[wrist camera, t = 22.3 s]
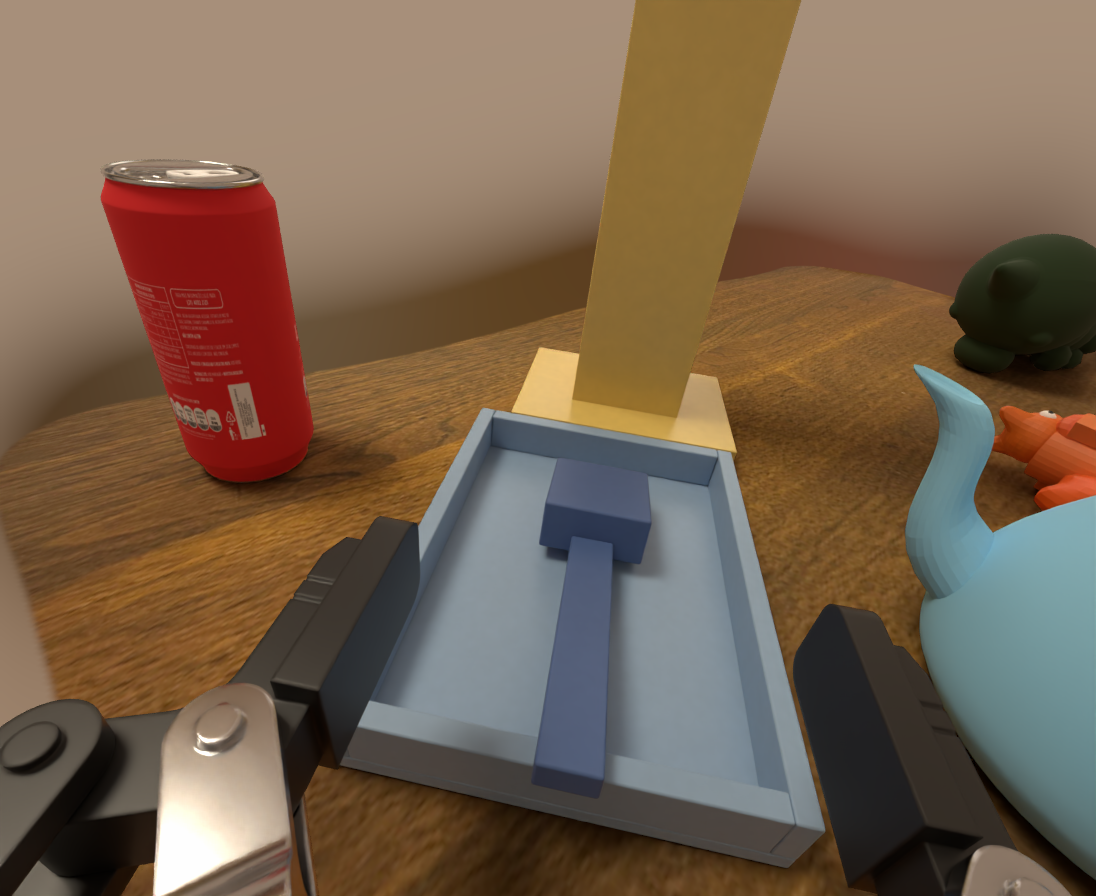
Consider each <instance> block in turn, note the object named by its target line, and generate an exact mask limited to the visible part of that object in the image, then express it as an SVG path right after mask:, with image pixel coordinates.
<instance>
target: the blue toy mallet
mask: <svg viewBox="0 0 1096 896" xmlns="http://www.w3.org/2000/svg"><path fill="white" fill-rule="evenodd" d="M651 525H652V519H651V507H650V496H649V484H648V474H647V473H642V472H637V471H632V470H626V469H621V468H615V467H610V466H604V465H599V464H594V463H588V462H583V461H577V460H572V459H566V458H561V457H558V459H557V462H556V465H555V469H554V473H553V476H552V480H551V484H550V487H549V491H548V494H547V498H546V502H545V507H544V513H543V520H542V526H541V533H540V539H539V544H540V545H542V546H547V547H552V548H557V549H562V550H567V551H569V554H568V560H567V566H566V572H565V578H564V584H563V590H562V596H561V602H560V608H559V614H558V620H557V626H556V632H555V638H554V644H553V650H552V656H551V662H550V668H549V674H548V680H547V686H546V692H545V698H544V704H543V710H542V716H541V722H540V728H539V734H538V740H537V746H536V752H535V758H534V764H533V770H532V776H531V783H532V784H533V785H536V786H541V787H545V788H549V789H554V790H558V791H563V792H567V793H571V794H576V795H580V796H585V797H589V798H593V799H598V798H599V796H600V793H601V790H602V787H603V783H604V780H605V763H606V735H607V708H608V680H609V652H610V625H611V597H612V570H613V560H618V561H623V562H628V563H634V564H641V562H642V558H643V555H644V551H645V547H646V543H647V540H648V536H649V532H650V528H651Z"/></svg>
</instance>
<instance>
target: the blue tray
mask: <svg viewBox="0 0 1096 896" xmlns="http://www.w3.org/2000/svg"><path fill="white" fill-rule="evenodd" d="M558 457H561V458H566V459H572V460H577V461H583V462H588V463H594V464H599V465H604V466H610V467H615V468H621V469H626V470H632V471H637V472H642V473H647V474H648V484H649V496H650V507H651V519H652V525H651V528H650V532H649V536H648V540H647V543H646V547H645V551H644V555H643V558H642V562H641V564H634V563H628V562H623V561H618V560H613V570H612V597H611V625H610V652H609V680H608V708H607V735H606V763H605V780H604V783H603V787H602V790H601V793H600V796H599V798H598V799H593V798H589V797H585V796H580V795H576V794H571V793H567V792H563V791H558V790H554V789H549V788H545V787H541V786H536V785H533V784H532V783H531V776H532V770H533V764H534V758H535V752H536V746H537V740H538V734H539V728H540V722H541V716H542V710H543V704H544V698H545V692H546V686H547V680H548V674H549V668H550V662H551V656H552V650H553V644H554V638H555V632H556V626H557V620H558V614H559V608H560V602H561V596H562V590H563V584H564V578H565V572H566V566H567V560H568V554H569V551H567V550H562V549H557V548H552V547H547V546H542V545H540V544H539V539H540V533H541V526H542V520H543V513H544V507H545V502H546V498H547V494H548V491H549V487H550V484H551V480H552V476H553V473H554V469H555V465H556V462H557V459H558ZM418 529H419V552H420V583H419V588H418V593H417V596H416V599H415V602H414V605H413V607H412V609H411V611H410V613H409V616H408V618H407V620H406V622H405V624H404V626H403V629H402V631H401V633H400V635H399V637H398V639H397V642H396V644H395V646H394V648H393V650H392V652H391V655H390V657H389V659H388V661H387V663H386V665H385V668H384V670H383V672H382V674H381V676H380V678H379V681H378V683H377V685H376V687H375V689H374V691H373V694H372V696H371V698H370V700H369V702H368V704H367V707H366V709H365V711H364V713H363V715H362V717H361V720H360V722H359V724H358V726H357V728H356V731H355V733H354V735H353V737H352V739H351V741H350V744H349V746H348V748H347V750H346V752H345V754H344V757H343V759H342V761H341V763H340V765H341V766H346V767H350V768H354V769H359V770H363V771H367V772H372V773H376V774H380V775H385V776H389V777H393V778H398V779H402V780H406V781H411V782H415V783H419V784H424V785H428V786H432V787H437V788H441V789H446V790H450V791H454V792H459V793H463V794H467V795H472V796H476V797H480V798H485V799H489V800H493V801H498V802H502V803H506V804H511V805H515V806H519V807H524V808H528V809H532V810H537V811H541V812H545V813H550V814H554V815H558V816H563V817H567V818H571V819H576V820H580V821H584V822H589V823H593V824H598V825H602V826H606V827H611V828H615V829H619V830H624V831H628V832H632V833H637V834H641V835H645V836H650V837H654V838H658V839H663V840H667V841H671V842H676V843H680V844H684V845H689V846H693V847H697V848H702V849H706V850H710V851H715V852H719V853H723V854H728V855H732V856H736V857H741V858H745V859H749V860H754V861H758V862H763V863H767V864H771V865H776V866H780V867H784V868H788V867H789V866H790V865H791V864H793V863H794V862H795V859H798V858H799V857H800V856H801V855H802V854H803V853H804V852H805V851H806V850H807V849H808V848H809V847H810V846H811V845H812V844H813V843H814V842H815V841H816V840H817V839H818V838H819V837H820V836H821V835H822V834H823V833H825V826H824V822H823V818H822V814H821V810H820V806H819V802H818V798H817V794H816V790H815V786H814V782H813V778H812V774H811V770H810V766H809V762H808V758H807V754H806V750H805V746H804V742H803V738H802V734H801V730H800V726H799V722H798V718H797V714H796V710H795V706H794V702H793V698H792V694H791V690H790V686H789V682H788V678H787V674H786V670H785V666H784V662H783V658H782V654H781V650H780V646H779V642H778V638H777V634H776V630H775V626H774V622H773V618H772V614H771V610H770V606H769V602H768V598H767V594H766V590H765V586H764V582H763V578H762V574H761V570H760V566H759V562H758V558H757V554H756V550H755V546H754V542H753V538H752V534H751V530H750V526H749V522H748V518H747V514H746V510H745V506H744V502H743V498H742V494H741V490H740V486H739V482H738V478H737V474H736V470H735V466H734V462H733V458H732V454H731V452H726V451H721V450H715V449H709V448H704V447H698V446H693V445H687V444H681V443H676V442H670V441H665V440H659V439H654V438H648V437H642V436H637V435H631V434H626V433H620V432H615V431H609V430H604V429H598V428H592V427H587V426H581V425H576V424H570V423H565V422H559V421H554V420H548V419H542V418H537V417H531V416H526V415H520V414H515V413H509V412H504V411H498V410H496V411H495V410H493V409H487V408H482V410H481V411H480V413H479V415H478V417H477V419H476V421H475V422H474V424H473V426H472V428H471V430H470V432H469V434H468V435H467V437H466V439H465V441H464V443H463V445H462V447H461V448H460V450H459V452H458V454H457V456H456V458H455V460H454V461H453V463H452V465H451V467H450V469H449V471H448V473H447V474H446V476H445V478H444V480H443V482H442V484H441V485H440V487H439V489H438V491H437V493H436V495H435V497H434V498H433V500H432V502H431V504H430V506H429V508H428V510H427V511H426V513H425V515H424V517H423V519H422V521H421V523H420V524H419V526H418Z"/></svg>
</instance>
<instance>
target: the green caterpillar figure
mask: <svg viewBox="0 0 1096 896" xmlns="http://www.w3.org/2000/svg"><path fill="white" fill-rule="evenodd" d="M949 313H950V315H951V317H953V318H954V319H956V320H957V322H958V324H959V326H960V327H961V328H962V330H963V331H964V332H965V334H966V335H964V336H963V337H961V338H960V339H959V340H958V341H957V342H956V344H955V347H954V354H955V357H956V358H957V359H958V360H959V361H960V362H961V363H963V364H964V365H965V366H967V367H969V368H971V369H974V370H977V371H980V372H985V373H994V372H999V371H1001V370H1003V369H1006V368H1007V367H1008V366H1009V365H1010V364H1011V363H1012V362H1013V360H1014V357H1015V355H1021V354H1025V355H1031V357H1030V360H1031V362H1032V363H1033V365H1034V367H1036V368H1038V369H1041V370H1044V371H1049V370H1058V369H1059V368H1062V369H1068V368H1074V367H1076V366H1077V365H1079V364H1080V363H1081V360H1082V356H1083V354H1087V353H1091V352H1095V351H1096V248H1095V247H1093V246H1092V245H1090V244H1088V243H1087V242H1085V241H1083V240H1081V239H1078V238H1075V237H1071V236H1066V235H1059V234H1040V235H1034V236H1028V237H1024V238H1021V239H1017V240H1014V241H1012V242H1009V243H1008V244H1005V245H1003V246H1000V247H998V248H997V249H995V250H993V251H992V252H990V253H988V254H987V255H985V256H984V257H983V258H982V259H980V260H979V261H978V262H976V263H975V265H974V266H972V267H971V268H970V270H969V271H968V272H967V273H966V274H965V276H964V278H963V279H962V282H961V283H960V286H959V288H958V291H957V294H956V297H955V302H954V303H953V304H952V305H951V307H950V309H949Z"/></svg>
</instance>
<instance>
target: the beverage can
mask: <svg viewBox="0 0 1096 896" xmlns="http://www.w3.org/2000/svg"><path fill="white" fill-rule="evenodd" d="M101 173H102V175H103V176H104V177H105V183H104V187H103V190H102V194H101V201H102V205H103V207H104V210H105V213H106V216H107V219H108V222H109V225H110V227H111V230H112V233H113V236H114V239H115V242H116V245H117V248H118V251H119V254H120V257H121V260H122V263H123V265H124V268H125V271H126V274H127V277H128V280H129V283H130V286H131V289H132V292H133V295H134V298H135V301H136V303H137V306H138V309H139V312H140V315H141V318H142V321H143V324H144V327H145V330H146V333H147V335H148V338H149V341H150V344H151V347H152V350H153V353H154V356H155V359H156V362H157V365H158V367H159V370H160V373H161V376H162V379H163V382H164V385H165V388H166V391H167V394H168V397H169V399H170V402H171V405H172V408H173V411H174V414H175V417H176V420H177V423H178V426H179V429H180V431H181V434H182V437H183V440H184V443H185V446H186V449H187V451H188V453H189V454H190V455H191V457H193V458H194V459H195V460H196V461H197V462H199V463H200V464H201V465H202V466H204V468H205V470H206V471H207V473H208V474H210V475H211V476H213V477H214V478H216V479H219V480H222V481H226V482H233V483H252V482H259V481H264V480H268V479H272V478H275V477H278V476H281V475H283V474H285V473H287V472H289V471H291V470H292V469H294V468H295V467H297V466H298V465H299V464H300V463H301V462H302V461H303V460H304V459H305V457H306V455H307V452H308V444H309V442H310V439H311V437H312V435H313V430H314V428H313V421H312V415H311V410H310V404H309V398H308V392H307V386H306V380H305V374H304V369H303V363H302V357H301V351H300V345H299V339H298V333H297V328H296V321H295V315H294V310H293V304H292V299H291V292H290V286H289V280H288V275H287V268H286V263H285V257H284V251H283V245H282V239H281V233H280V227H279V222H278V216H277V210H276V205H275V200H274V199H273V197H272V196H271V194H270V193H269V192H268V190H267V189H266V187H265V186H264V184H263V180H264V177H263V175H262V173H260V172H259V171H256V170H254V169H250V168H246V167H241V166H236V165H230V164H223V163H215V162H204V161H189V160H132V161H122V162H114V163H110V164H106V165H104V166H102V167H101Z"/></svg>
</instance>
